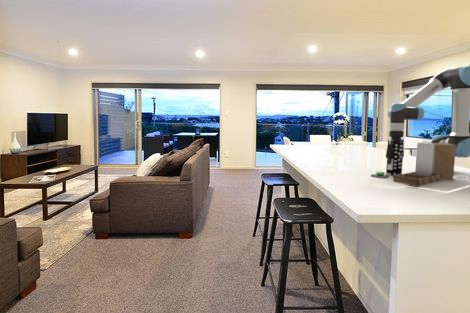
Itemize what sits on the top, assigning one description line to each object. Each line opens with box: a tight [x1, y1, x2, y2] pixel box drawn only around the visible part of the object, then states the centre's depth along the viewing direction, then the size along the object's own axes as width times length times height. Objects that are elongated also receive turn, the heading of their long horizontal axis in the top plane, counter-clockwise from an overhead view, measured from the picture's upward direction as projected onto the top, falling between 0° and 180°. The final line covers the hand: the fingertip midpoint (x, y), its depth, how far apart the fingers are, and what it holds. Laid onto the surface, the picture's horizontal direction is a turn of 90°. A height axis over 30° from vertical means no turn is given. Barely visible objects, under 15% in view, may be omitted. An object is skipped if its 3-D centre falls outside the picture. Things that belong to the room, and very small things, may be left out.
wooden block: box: [432, 143, 456, 181], centre depth 197 cm, size 10×10×20 cm
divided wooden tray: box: [392, 171, 442, 188], centre depth 189 cm, size 26×13×4 cm, turn 127°
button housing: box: [370, 173, 390, 179], centre depth 199 cm, size 7×7×2 cm
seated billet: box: [414, 142, 434, 176], centre depth 191 cm, size 8×8×20 cm
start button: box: [375, 170, 386, 175], centre depth 199 cm, size 4×4×3 cm
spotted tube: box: [385, 142, 405, 177], centre depth 205 cm, size 8×8×20 cm
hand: (394, 168), depth 206 cm, fingers open, 9 cm apart
